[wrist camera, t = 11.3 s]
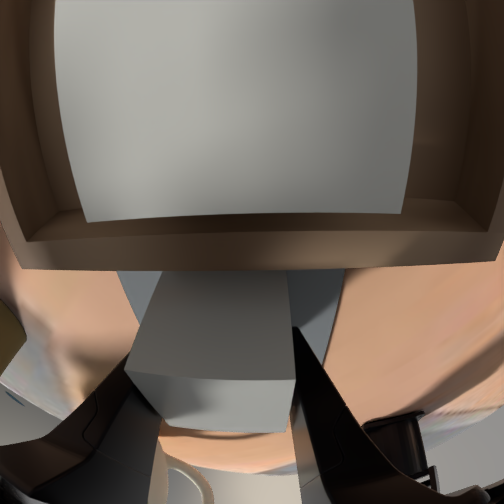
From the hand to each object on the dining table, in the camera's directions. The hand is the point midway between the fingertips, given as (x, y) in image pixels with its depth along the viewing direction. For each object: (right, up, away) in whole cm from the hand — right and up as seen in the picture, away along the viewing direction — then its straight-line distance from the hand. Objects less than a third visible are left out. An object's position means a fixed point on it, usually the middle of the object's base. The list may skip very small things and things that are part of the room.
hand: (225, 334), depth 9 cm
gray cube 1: (+1, +7, -4) cm, 8 cm away
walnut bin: (+1, +10, -5) cm, 11 cm away
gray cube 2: (0, +1, +1) cm, 1 cm away
